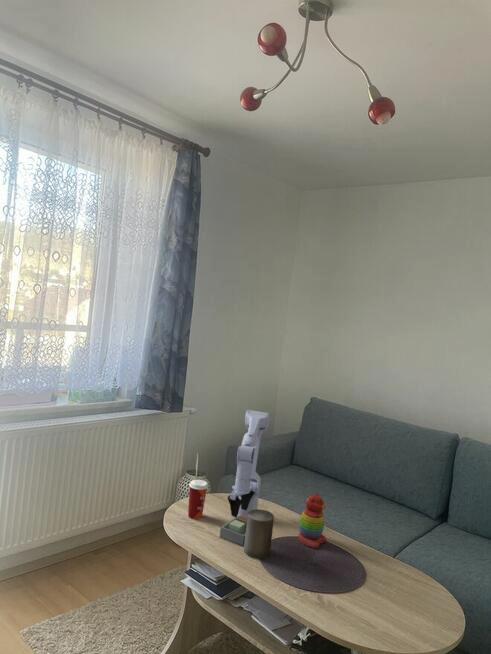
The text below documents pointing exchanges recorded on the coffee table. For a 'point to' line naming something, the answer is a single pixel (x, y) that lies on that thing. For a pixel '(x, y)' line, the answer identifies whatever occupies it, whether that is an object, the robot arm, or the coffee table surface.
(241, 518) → the walnut block
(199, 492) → the paper cup
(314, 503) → the stacking bear
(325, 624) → the coffee table surface
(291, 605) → the coffee table surface
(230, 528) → the sage block
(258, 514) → the pillar candle
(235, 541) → the tray
